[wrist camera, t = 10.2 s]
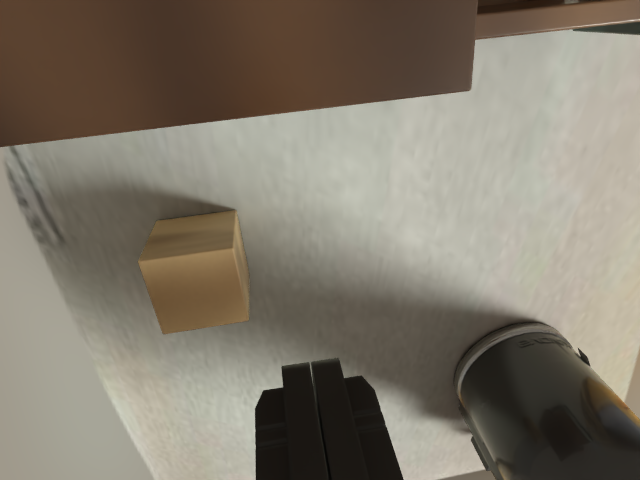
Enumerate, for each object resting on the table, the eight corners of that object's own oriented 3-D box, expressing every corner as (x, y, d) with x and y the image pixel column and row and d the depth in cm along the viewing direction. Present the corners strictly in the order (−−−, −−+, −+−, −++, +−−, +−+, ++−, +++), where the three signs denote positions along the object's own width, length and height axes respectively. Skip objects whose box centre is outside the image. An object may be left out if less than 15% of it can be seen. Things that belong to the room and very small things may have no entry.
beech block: (249, 275, 27) (249, 321, 23) (175, 286, 27) (162, 335, 23) (236, 209, 25) (233, 247, 21) (155, 220, 24) (136, 261, 20)
